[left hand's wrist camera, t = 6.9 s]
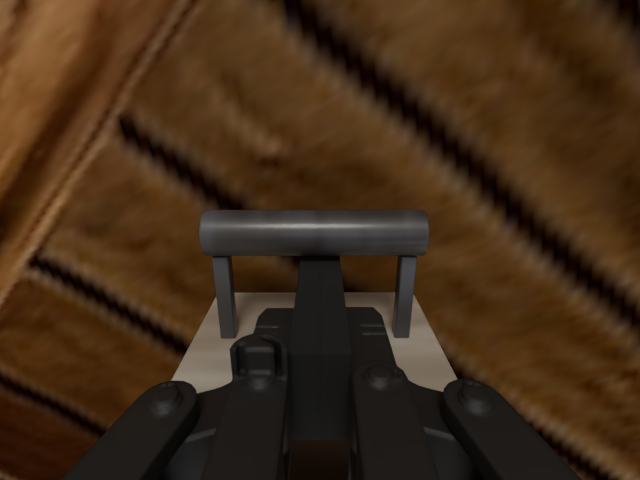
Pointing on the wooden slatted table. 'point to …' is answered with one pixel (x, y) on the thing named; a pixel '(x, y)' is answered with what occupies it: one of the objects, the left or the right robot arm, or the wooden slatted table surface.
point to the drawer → (244, 308)
